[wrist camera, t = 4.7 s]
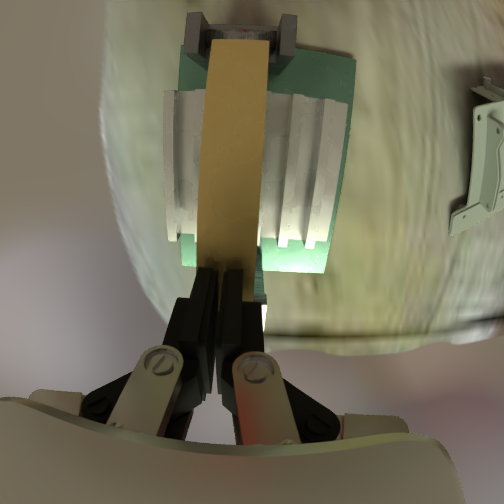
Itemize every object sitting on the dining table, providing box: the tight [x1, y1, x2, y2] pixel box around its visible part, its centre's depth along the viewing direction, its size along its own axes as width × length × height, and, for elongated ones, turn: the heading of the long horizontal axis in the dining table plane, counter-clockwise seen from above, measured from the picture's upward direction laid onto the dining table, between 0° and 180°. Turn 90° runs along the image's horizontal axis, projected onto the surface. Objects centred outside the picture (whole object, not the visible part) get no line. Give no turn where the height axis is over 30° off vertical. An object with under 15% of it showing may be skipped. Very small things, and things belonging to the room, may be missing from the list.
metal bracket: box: [449, 76, 504, 237], centre depth 15 cm, size 14×6×15 cm
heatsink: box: [163, 12, 356, 332], centre depth 14 cm, size 16×11×7 cm
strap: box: [196, 29, 277, 312], centre depth 10 cm, size 13×3×1 cm, turn 177°
